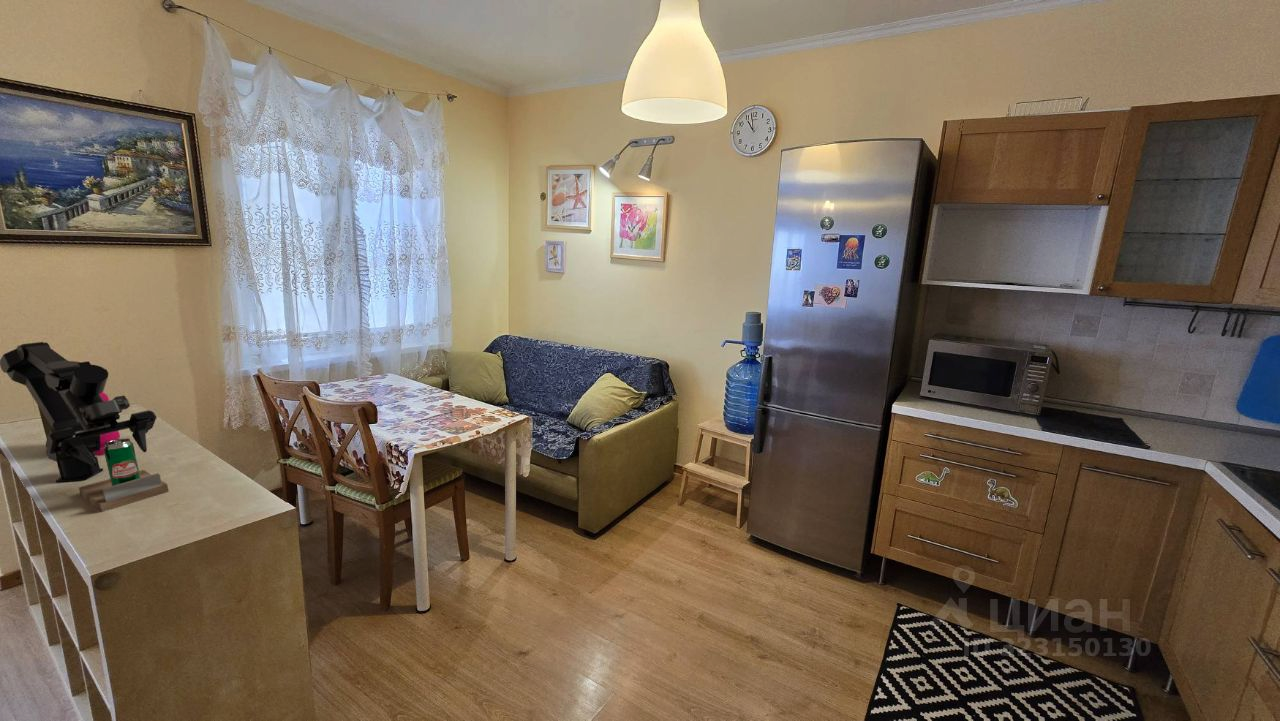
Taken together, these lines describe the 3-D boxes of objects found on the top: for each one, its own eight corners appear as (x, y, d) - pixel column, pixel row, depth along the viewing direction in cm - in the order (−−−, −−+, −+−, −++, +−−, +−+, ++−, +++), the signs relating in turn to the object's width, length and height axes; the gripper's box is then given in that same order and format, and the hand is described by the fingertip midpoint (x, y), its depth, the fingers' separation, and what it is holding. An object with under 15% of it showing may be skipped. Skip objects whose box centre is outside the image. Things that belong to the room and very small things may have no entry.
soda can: (115, 495, 123) (104, 447, 121) (111, 488, 126) (100, 442, 124) (144, 487, 127) (134, 441, 124) (139, 481, 130) (129, 436, 127)
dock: (80, 494, 128) (76, 475, 127) (144, 476, 138) (140, 459, 137) (102, 511, 120) (97, 491, 119) (168, 491, 130) (164, 472, 129)
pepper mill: (83, 454, 153) (67, 388, 148) (114, 445, 159) (100, 382, 155) (96, 457, 150) (80, 391, 146) (128, 449, 156) (113, 384, 152)
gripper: (38, 398, 115) (72, 453, 113) (145, 379, 132) (176, 427, 130) (32, 426, 120) (64, 480, 118) (136, 404, 137) (166, 451, 134)
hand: (121, 458), depth 125 cm, fingers open, 9 cm apart
